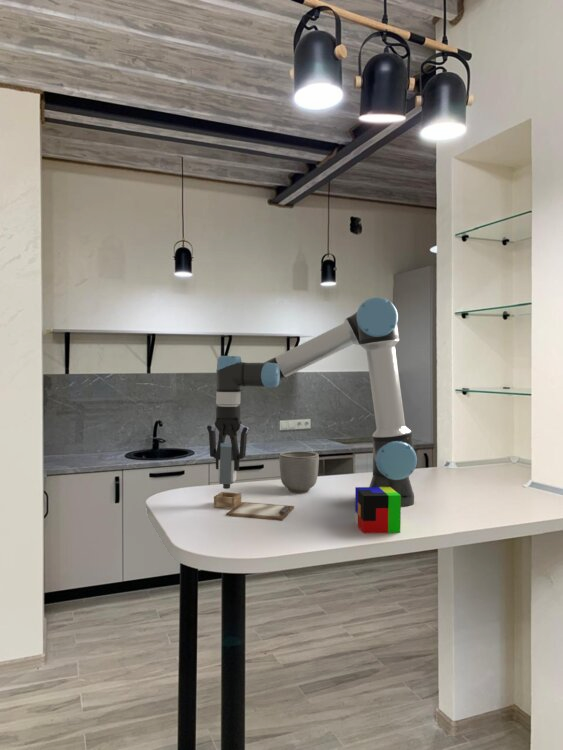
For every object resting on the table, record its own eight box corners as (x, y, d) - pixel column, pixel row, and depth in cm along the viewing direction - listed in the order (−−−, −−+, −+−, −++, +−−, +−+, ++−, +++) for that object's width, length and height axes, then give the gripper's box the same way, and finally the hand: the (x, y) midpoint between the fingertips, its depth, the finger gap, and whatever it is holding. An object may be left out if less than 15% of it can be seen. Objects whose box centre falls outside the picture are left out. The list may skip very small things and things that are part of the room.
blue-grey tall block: (234, 487, 172) (235, 442, 172) (230, 489, 168) (231, 443, 169) (223, 486, 173) (224, 442, 173) (219, 488, 169) (220, 443, 170)
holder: (241, 503, 174) (241, 493, 174) (234, 509, 167) (234, 498, 167) (221, 502, 175) (221, 491, 175) (213, 507, 169) (213, 496, 169)
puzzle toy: (355, 522, 155) (355, 487, 154) (389, 522, 155) (390, 486, 155) (363, 533, 145) (363, 495, 144) (400, 532, 145) (400, 495, 145)
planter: (272, 493, 188) (273, 455, 188) (287, 485, 201) (287, 449, 201) (311, 497, 183) (311, 458, 183) (323, 488, 196) (324, 452, 196)
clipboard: (294, 507, 169) (294, 503, 169) (282, 520, 156) (282, 515, 156) (242, 503, 174) (242, 499, 174) (226, 515, 160) (226, 510, 160)
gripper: (257, 405, 172) (256, 479, 173) (208, 403, 176) (207, 476, 177) (249, 407, 165) (248, 484, 165) (198, 405, 169) (197, 480, 170)
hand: (227, 480), depth 171 cm, fingers closed on blue-grey tall block, 3 cm apart
